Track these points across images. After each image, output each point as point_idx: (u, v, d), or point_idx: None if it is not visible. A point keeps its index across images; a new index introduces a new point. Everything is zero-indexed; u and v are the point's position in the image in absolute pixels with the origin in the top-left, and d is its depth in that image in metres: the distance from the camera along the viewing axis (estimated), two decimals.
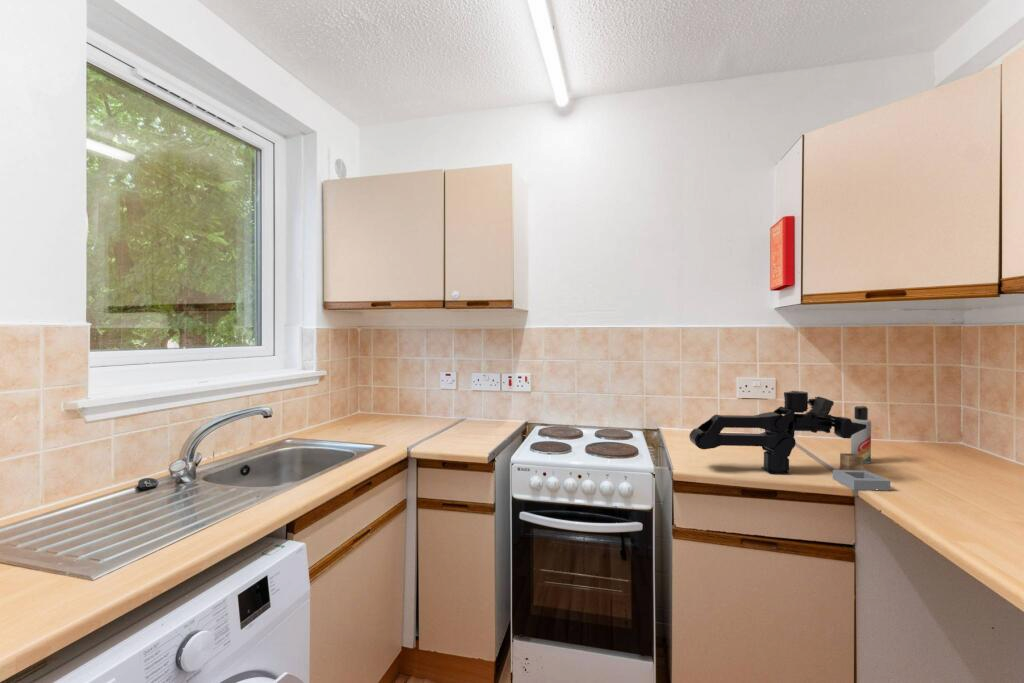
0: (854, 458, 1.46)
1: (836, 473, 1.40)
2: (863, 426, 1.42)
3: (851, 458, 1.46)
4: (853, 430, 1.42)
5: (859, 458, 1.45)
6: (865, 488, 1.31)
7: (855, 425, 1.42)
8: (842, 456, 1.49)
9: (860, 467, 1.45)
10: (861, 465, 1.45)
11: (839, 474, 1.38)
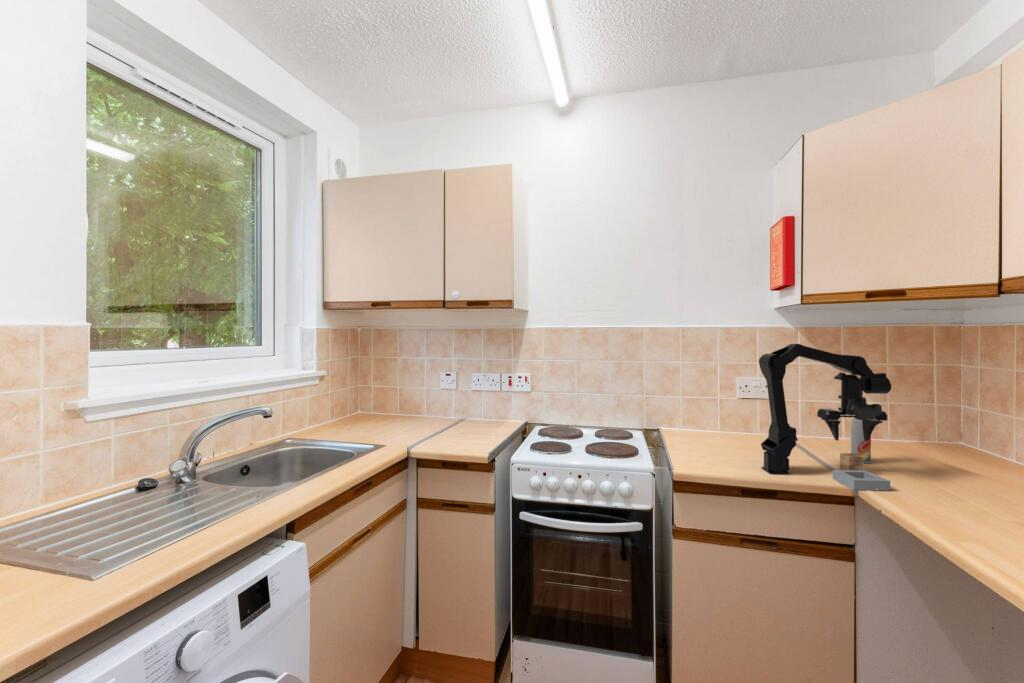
0: (854, 458, 1.46)
1: (836, 473, 1.40)
2: (835, 437, 1.48)
3: (851, 458, 1.46)
4: (830, 425, 1.49)
5: (859, 458, 1.45)
6: (865, 488, 1.31)
7: (833, 428, 1.48)
8: (842, 456, 1.49)
9: (860, 467, 1.45)
10: (861, 465, 1.45)
11: (839, 474, 1.38)
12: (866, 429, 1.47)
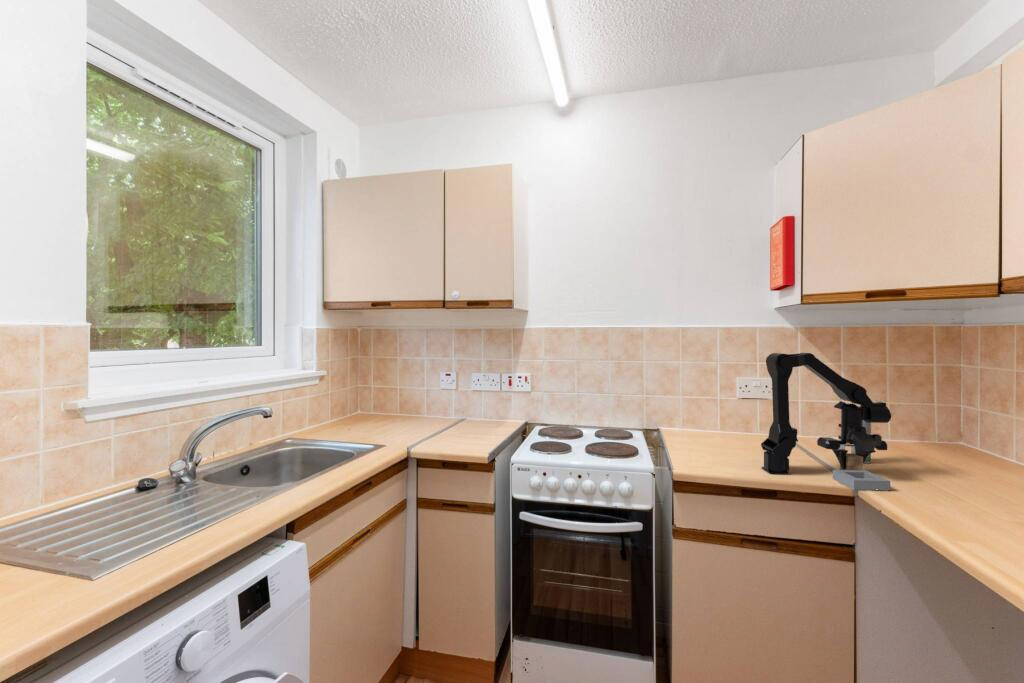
0: (854, 458, 1.46)
1: (836, 473, 1.40)
2: (842, 466, 1.48)
3: (851, 458, 1.46)
4: (837, 454, 1.49)
5: (859, 458, 1.45)
6: (865, 488, 1.31)
7: (840, 457, 1.48)
8: None
9: (860, 467, 1.45)
10: (861, 465, 1.45)
11: (839, 474, 1.38)
12: None
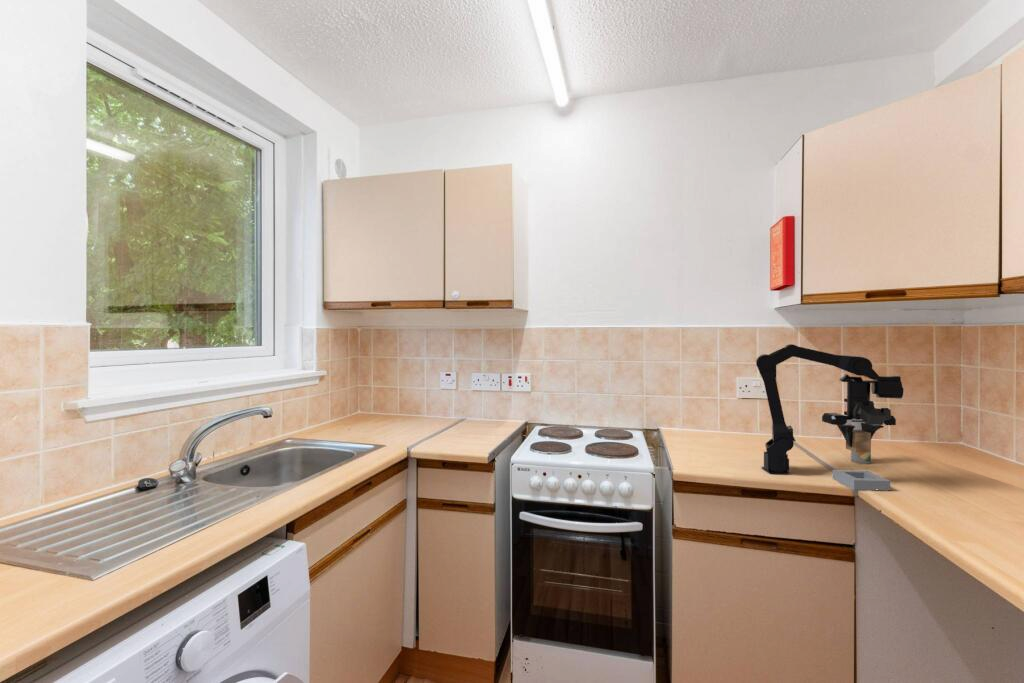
0: (861, 434, 1.37)
1: (836, 473, 1.40)
2: (848, 442, 1.40)
3: (858, 434, 1.37)
4: (843, 430, 1.41)
5: (866, 434, 1.37)
6: (865, 488, 1.31)
7: (847, 434, 1.39)
8: None
9: (867, 443, 1.37)
10: (868, 441, 1.37)
11: (839, 474, 1.38)
12: None
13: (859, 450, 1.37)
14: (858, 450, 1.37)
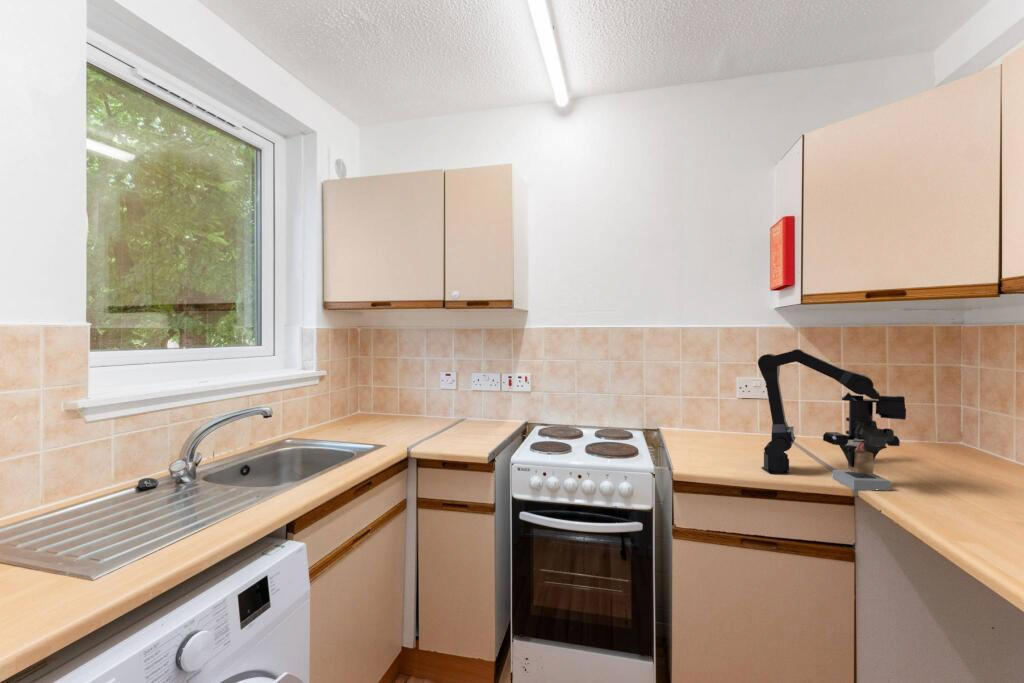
0: (863, 454, 1.34)
1: (836, 473, 1.40)
2: (850, 463, 1.36)
3: (860, 454, 1.34)
4: (844, 450, 1.38)
5: (869, 454, 1.34)
6: (865, 488, 1.31)
7: (848, 454, 1.36)
8: None
9: (870, 464, 1.34)
10: (871, 462, 1.34)
11: (839, 474, 1.38)
12: None
13: (861, 471, 1.34)
14: (860, 471, 1.34)
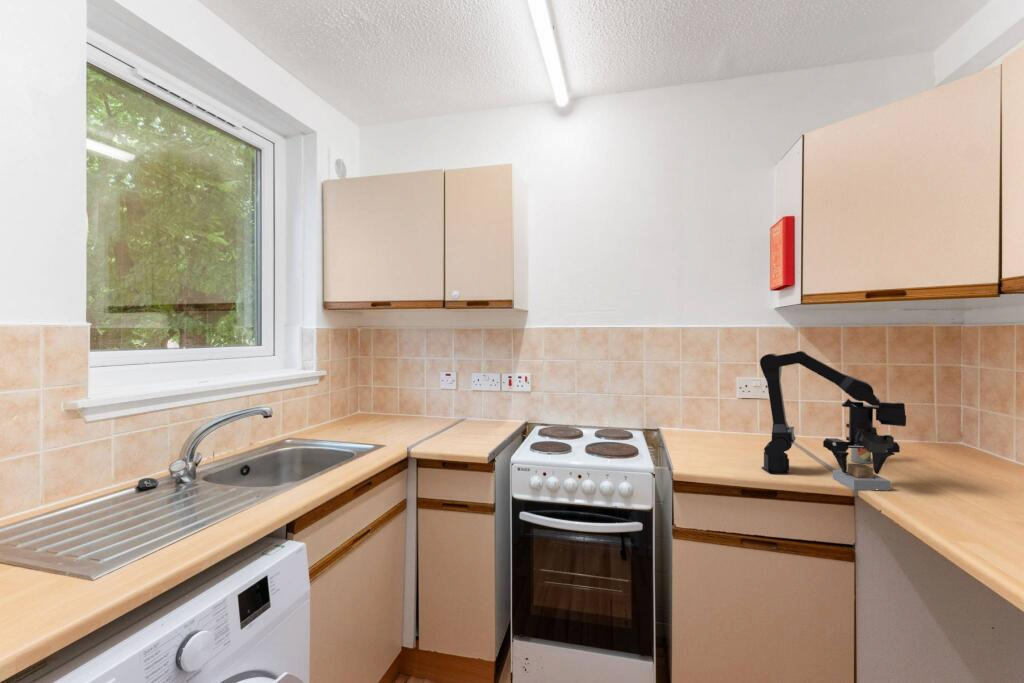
0: (863, 469, 1.34)
1: (836, 473, 1.40)
2: (842, 469, 1.37)
3: (860, 469, 1.34)
4: (837, 456, 1.38)
5: (869, 469, 1.34)
6: (865, 488, 1.31)
7: (841, 460, 1.36)
8: (850, 467, 1.37)
9: None
10: (871, 476, 1.34)
11: (839, 474, 1.38)
12: (876, 461, 1.36)
13: None
14: None
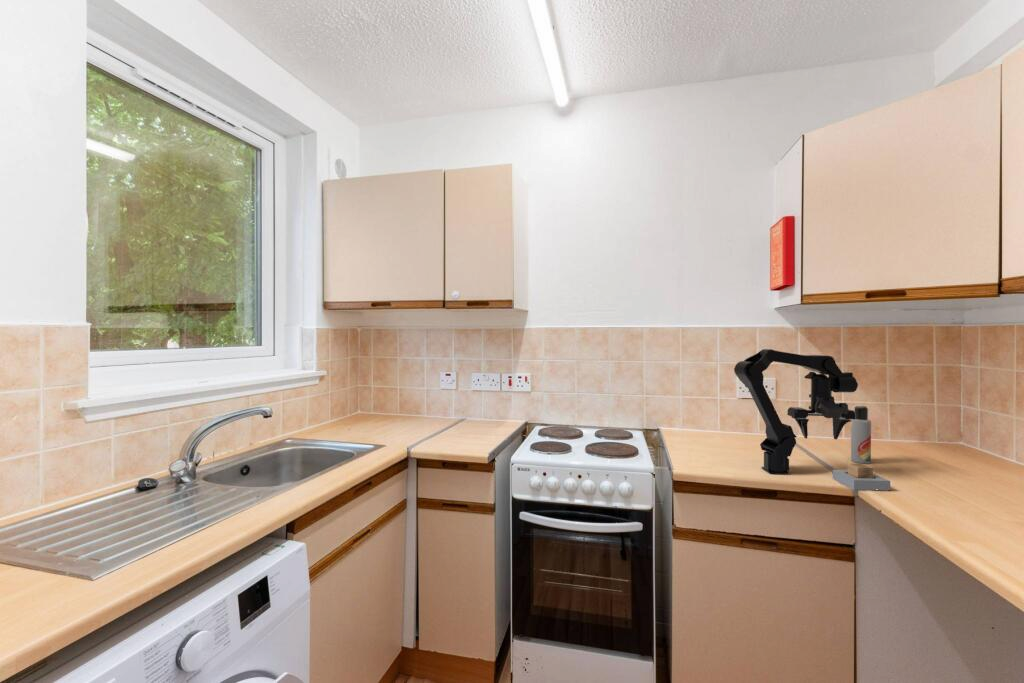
0: (863, 469, 1.34)
1: (836, 473, 1.40)
2: (804, 435, 1.51)
3: (860, 469, 1.34)
4: (799, 423, 1.52)
5: (869, 469, 1.34)
6: (865, 488, 1.31)
7: (802, 426, 1.50)
8: (850, 467, 1.37)
9: None
10: (871, 476, 1.34)
11: (839, 474, 1.38)
12: (835, 428, 1.49)
13: None
14: None
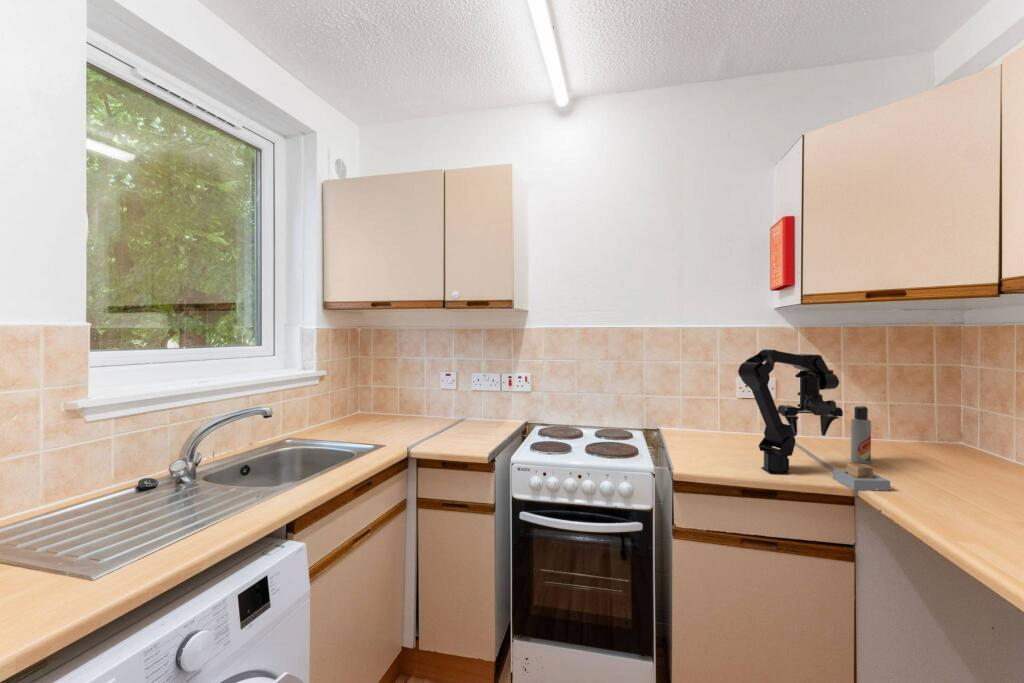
0: (863, 469, 1.34)
1: (836, 473, 1.40)
2: (793, 432, 1.55)
3: (860, 469, 1.34)
4: (789, 421, 1.56)
5: (869, 469, 1.34)
6: (865, 488, 1.31)
7: (792, 424, 1.54)
8: (850, 467, 1.37)
9: None
10: (871, 476, 1.34)
11: (839, 474, 1.38)
12: (823, 424, 1.54)
13: None
14: None
